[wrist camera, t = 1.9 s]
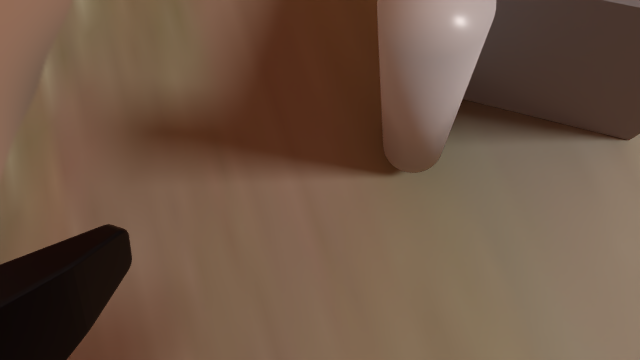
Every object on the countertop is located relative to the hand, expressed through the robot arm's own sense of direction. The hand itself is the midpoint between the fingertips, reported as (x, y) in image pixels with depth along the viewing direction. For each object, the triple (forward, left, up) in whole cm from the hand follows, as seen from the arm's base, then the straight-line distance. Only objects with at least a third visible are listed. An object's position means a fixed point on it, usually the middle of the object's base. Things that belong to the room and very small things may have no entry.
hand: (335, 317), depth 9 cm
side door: (+9, +7, -12) cm, 16 cm away
